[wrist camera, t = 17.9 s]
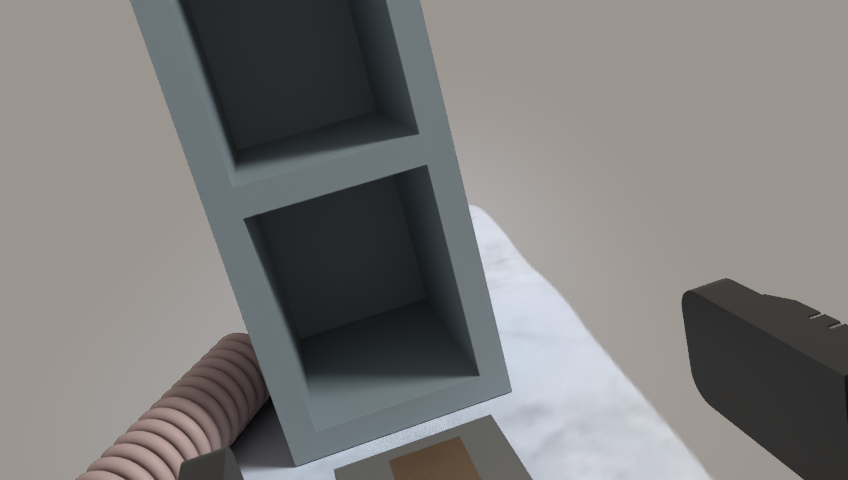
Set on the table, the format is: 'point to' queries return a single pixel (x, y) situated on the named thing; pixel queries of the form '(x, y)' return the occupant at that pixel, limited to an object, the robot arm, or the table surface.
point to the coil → (190, 416)
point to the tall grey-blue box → (333, 208)
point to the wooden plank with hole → (436, 463)
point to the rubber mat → (479, 437)
